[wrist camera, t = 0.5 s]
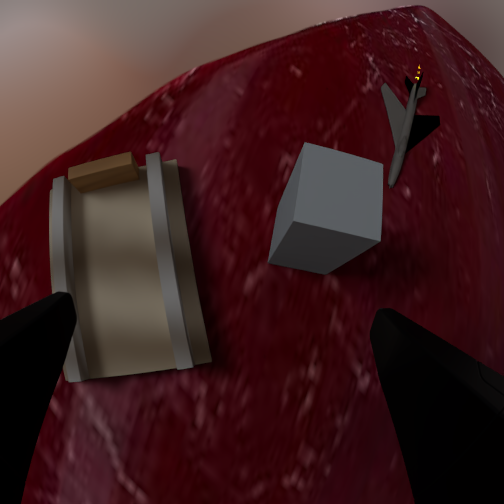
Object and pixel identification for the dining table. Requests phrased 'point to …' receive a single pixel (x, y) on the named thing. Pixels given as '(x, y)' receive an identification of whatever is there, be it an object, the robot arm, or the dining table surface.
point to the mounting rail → (126, 268)
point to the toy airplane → (406, 123)
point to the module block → (327, 211)
